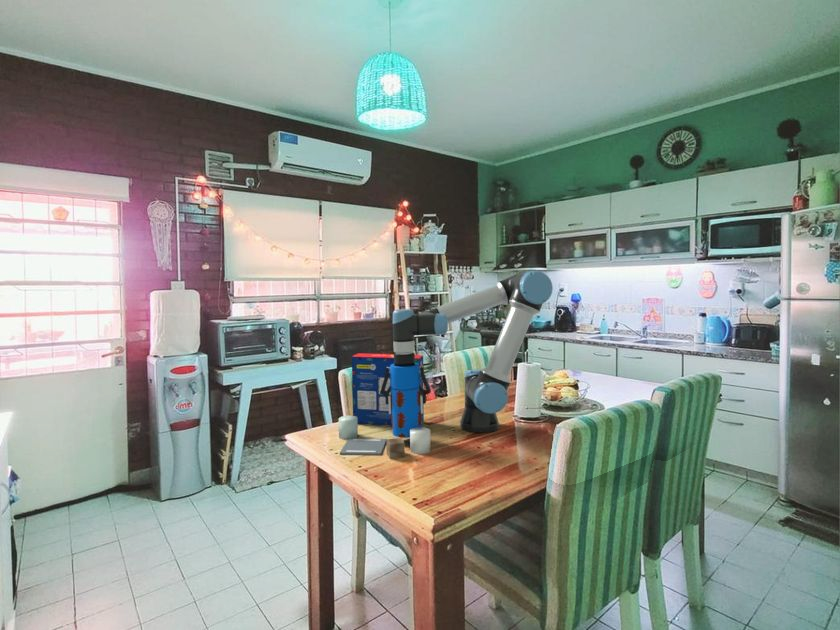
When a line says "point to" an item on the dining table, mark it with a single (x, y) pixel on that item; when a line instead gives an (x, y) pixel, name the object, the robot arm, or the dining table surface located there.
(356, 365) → the pasta box
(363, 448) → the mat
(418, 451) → the white rounded cylinder
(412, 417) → the thermos
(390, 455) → the walnut block
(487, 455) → the dining table surface
